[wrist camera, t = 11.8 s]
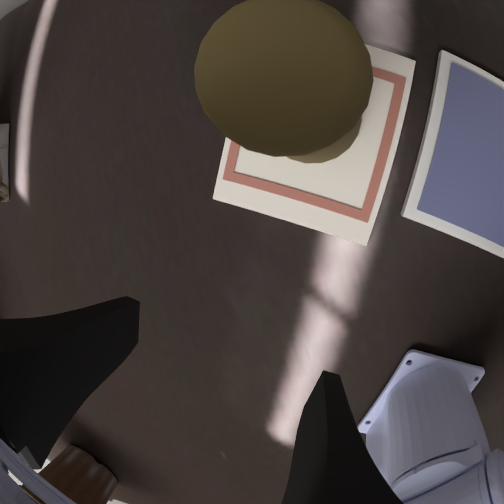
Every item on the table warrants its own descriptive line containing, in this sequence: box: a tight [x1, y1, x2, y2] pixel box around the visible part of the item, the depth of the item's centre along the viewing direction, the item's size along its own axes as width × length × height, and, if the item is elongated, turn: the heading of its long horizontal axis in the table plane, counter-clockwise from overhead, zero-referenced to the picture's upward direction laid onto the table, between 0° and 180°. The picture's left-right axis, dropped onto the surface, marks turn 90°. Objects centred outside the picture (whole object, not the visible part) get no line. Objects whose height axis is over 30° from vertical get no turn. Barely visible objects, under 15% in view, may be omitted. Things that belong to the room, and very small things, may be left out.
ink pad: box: [401, 50, 504, 258], centre depth 14 cm, size 11×9×1 cm
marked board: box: [213, 44, 416, 246], centre depth 17 cm, size 12×10×1 cm
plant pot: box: [19, 445, 118, 504], centre depth 36 cm, size 16×16×16 cm
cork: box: [194, 0, 374, 163], centre depth 11 cm, size 6×6×11 cm
